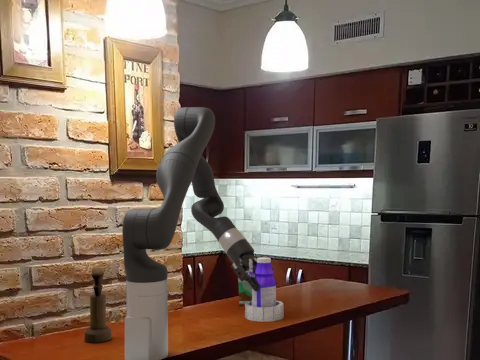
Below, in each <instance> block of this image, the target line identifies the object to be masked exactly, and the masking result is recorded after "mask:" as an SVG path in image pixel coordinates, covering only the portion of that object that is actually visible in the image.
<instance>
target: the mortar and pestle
mask: <svg viewBox="0 0 480 360" xmlns="http://www.w3.org/2000/svg"><path fill="white" fill-rule="evenodd" d="M104 274H105V271H104V269H103V268H101V267H95V268H93V269H92V271H91V278H92V279H93V281H94V285H93V286H92V288H93V291H94V294H91V295H89V312H90V313H89V318H90V319H89V320H90V321H89V327H88V328H86V329H85V330H84V342H86V343H91V344H92V343H94V344H95V343H96V344H97V343H104V342H108V341H109V340H111V339H112V336H113V335H112V328H110V326H108V325H107V300H106V299H107V295H106V294H105V293H103V292H102V291H103V288H104V287H103V285H102V279H103V278H104V276H105V275H104Z"/></svg>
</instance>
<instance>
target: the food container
mask: <svg viewBox="0 0 480 360" xmlns="http://www.w3.org/2000/svg"><path fill="white" fill-rule="evenodd" d="M252 274H253V277H254V278H255V274H254V273H252ZM241 275H243V274H241ZM237 281H238V282H237V283H238V305H239V307H245V303H246V302H248V301H252V287H251V286H250V284H249V283H248V282H246V281H245V280H243V281H241V280H240V279H239V278H238V277H237Z"/></svg>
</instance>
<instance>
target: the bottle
mask: <svg viewBox="0 0 480 360" xmlns="http://www.w3.org/2000/svg"><path fill="white" fill-rule="evenodd" d="M256 258H257V267H256V270H255V272H254V274H255V279H256V281H257V282H258V283H259V285H260V286H261V288H260V289H259V290H258V291H254V289H253V288H252V306H258V307H271V306H276V301H277V288H276V287H277V284H276V282H275V279H276V278H275V277H274V273H275V272H274V269H273V270H272V268H273V267H272V260H271V257H265V256H263V257H261V258H260V257H256ZM273 277H274V278H275V279H274V278H273Z"/></svg>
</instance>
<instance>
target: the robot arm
mask: <svg viewBox="0 0 480 360" xmlns="http://www.w3.org/2000/svg"><path fill="white" fill-rule="evenodd" d="M215 125H216V116H215V114H214V112H213V110H212V109H210V108H208V107H205V106H204V107H203V106H201V107H200V106H196V107H195V106H193V107H192V106H191V107H190V106H189V107H186V106H185V107H183V106H182V107H178V108H177V110H175V114H174V117H173V127H174V133H175V135H176V139H177V142H178V143H176V144H175V145H173V146H172V147H170V148H169V149H168V150H167V151H166V152H165V153H164V154H163V156H162V158H161V160H160V162H159V165H158V166H157V169H156V174H155V179H156V183H157V185H158V188H159V190H160V192H161V195H162V196H163V197H162V198H163V200H162V204H161V205H160V206H159V207H157V208H132V209H129V210H128V211H127V212H126V213H125V215H124V217H123V220H122V230H121V232H122V234H121V235H122V249H123V266H124V271H125V281H126V282H125V283H126V284H125V285H126V286H125V287H126V289H125V290H126V292H125V295H126V297H125V301H126V304H125V305H126V306H125V308H126V311H125V313H126V316H125V317H124V360H163V359H166V358H167V357H168V355H169V329H168V328H169V326H168V325H169V322H168V321H169V320H168V319H169V314H168V313H169V311H168V310H169V309H168V301H169V299H168V298H169V297H168V293H169V292H168V287H169V285H168V267H167V266H166V265H165V264H163V263H160V262H158V261H156V260H154V259H153V258H152V257H150V256H149V255H148V253H147V250H165V249H166V248H168V247H169V246H170V245H171V243H172V242H173V239H174V236H175V234H176V229H177V226H178V222H179V218H180V214H181V212H182V208H183V205H184V201H185V199H186V196H187V193H188V191H189V188H190V186H192V190H193V193H194V195H195V197H197V198H200V199H199V200H198V201H195V202H194V203H193V204H192V205H191V208H190V210H191V211H190V212H191V215H192V217H193V218H194V219H195V221H196V222H197V223H199V224H200V225H201V226H202V227H204V228H206V229H207V230H208V231H209V232H210V233H211V234H212V235H213V236H214V237H215V238H216V240H217V241H218V243H219V244H220V246H221V248H222V250H223V251H224V253H225V254H226V255H227V257H228V258H229V259H230V261H231V262H232V265H230V266H231V269H232V270H233V271H234V273H235V275H236V276H237V279H238V278H239V279H240V280H241V281H243V280H245V281H246V282H248V283H249V284H250V286H251V287H252V288H253V289H254V291H258V290H259V289H260V288H261V286H260V285H259V283H258V282H257V281H256V279H255V278H254V277H253V274H252V273H254V272H255V270H256V267H257V258H258V257H256V255H255V249H254V247H253V246H252V245H251V244H250V242H249V241H248V240H247V238H246V237H245V236H244V235H243V233H242V232H241V231H240V230H239V229H238V228H237V227H236V225H235V224H234V222H233V221H232V220H231V219H230V218H229V217H227V216H220V215H221V214H222V213H223V211H224V209H225V205H224V202H223V200H222V198H221V196H220V194H219V192H218V190H217V188H216V184H215V183H216V182H215V177H214V172H213V168H212V167H211V165H210V164H209V162H208V160H206V159H205V157H204V156H203V153H204V150H205V149H206V147H207V145H208V144H209V142H210V141H211V138H212V136H213V133H214V132H215V131H214V130H215ZM218 216H219V217H218ZM261 257H264V256H262V255H261V256H259V258H261ZM272 270H273V271H274V268H273V267H272ZM241 273H242V274H243V275H242V274H241ZM273 278H274V279H275V282H276V285H277V284H278V281H277V280H276V278H275V277H274V276H273Z"/></svg>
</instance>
